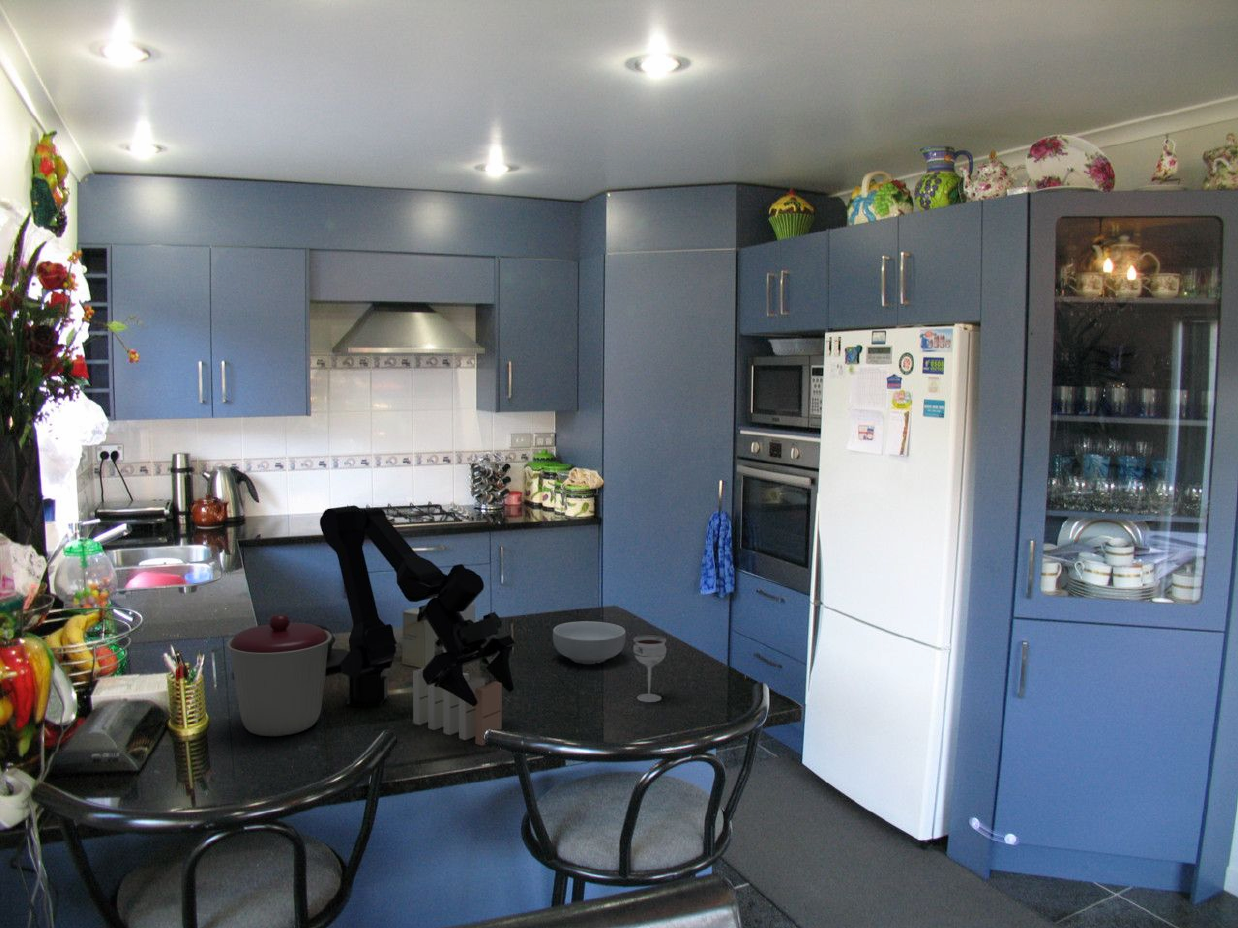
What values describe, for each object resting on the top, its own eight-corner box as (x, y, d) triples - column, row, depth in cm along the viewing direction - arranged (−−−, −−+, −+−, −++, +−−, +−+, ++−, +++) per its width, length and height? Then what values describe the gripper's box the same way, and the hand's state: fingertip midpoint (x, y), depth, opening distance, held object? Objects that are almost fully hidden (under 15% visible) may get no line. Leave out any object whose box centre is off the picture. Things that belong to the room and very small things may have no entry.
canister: (212, 725, 175) (209, 613, 173) (305, 702, 188) (303, 597, 186) (254, 754, 162) (251, 632, 161) (351, 727, 175) (349, 614, 173)
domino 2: (428, 727, 175) (427, 674, 174) (448, 720, 179) (447, 668, 178) (434, 729, 174) (434, 676, 173) (454, 722, 178) (454, 670, 177)
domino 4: (459, 738, 171) (458, 683, 170) (478, 729, 175) (478, 676, 174) (465, 740, 170) (465, 685, 169) (485, 731, 174) (485, 678, 173)
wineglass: (637, 704, 189) (638, 645, 188) (628, 693, 195) (629, 636, 194) (670, 701, 191) (671, 643, 190) (659, 691, 197) (660, 634, 196)
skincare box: (401, 664, 214) (400, 611, 212) (414, 659, 217) (414, 607, 216) (423, 668, 211) (423, 614, 210) (436, 663, 215) (436, 610, 213)
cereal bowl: (624, 671, 210) (625, 640, 210) (549, 670, 211) (549, 638, 210) (625, 649, 227) (626, 620, 227) (556, 648, 228) (556, 619, 227)
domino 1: (413, 723, 178) (412, 670, 177) (433, 715, 182) (433, 664, 181) (419, 725, 177) (418, 672, 176) (439, 717, 181) (438, 666, 180)
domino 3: (443, 732, 173) (443, 679, 172) (463, 725, 177) (463, 672, 176) (449, 735, 172) (449, 680, 171) (469, 726, 176) (469, 674, 175)
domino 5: (475, 743, 168) (475, 688, 167) (495, 735, 172) (495, 681, 171) (482, 745, 167) (482, 690, 166) (501, 737, 171) (501, 682, 170)
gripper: (433, 610, 162) (480, 686, 157) (508, 591, 177) (553, 659, 172) (402, 647, 168) (447, 722, 162) (477, 625, 183) (520, 693, 177)
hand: (494, 697), depth 168 cm, fingers open, 9 cm apart
